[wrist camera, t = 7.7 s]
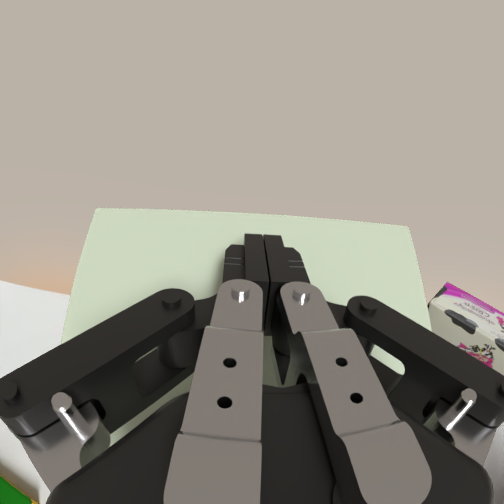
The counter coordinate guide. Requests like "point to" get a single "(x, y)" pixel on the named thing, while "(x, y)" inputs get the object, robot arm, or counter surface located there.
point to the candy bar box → (469, 325)
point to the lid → (212, 264)
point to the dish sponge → (12, 494)
